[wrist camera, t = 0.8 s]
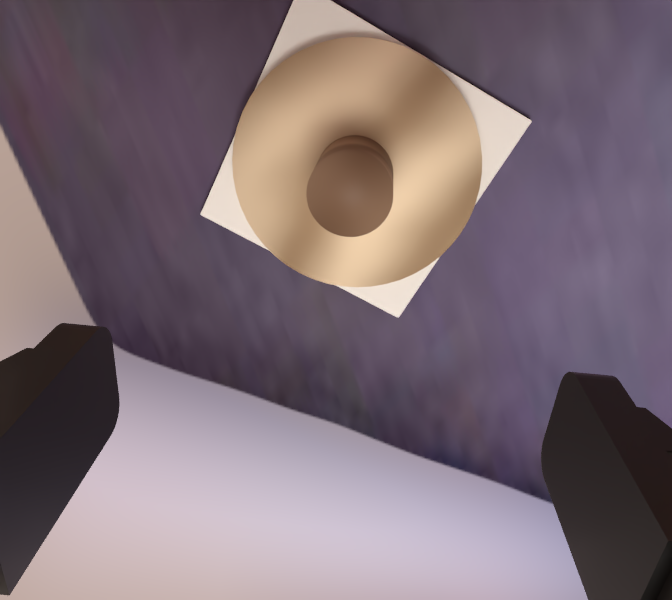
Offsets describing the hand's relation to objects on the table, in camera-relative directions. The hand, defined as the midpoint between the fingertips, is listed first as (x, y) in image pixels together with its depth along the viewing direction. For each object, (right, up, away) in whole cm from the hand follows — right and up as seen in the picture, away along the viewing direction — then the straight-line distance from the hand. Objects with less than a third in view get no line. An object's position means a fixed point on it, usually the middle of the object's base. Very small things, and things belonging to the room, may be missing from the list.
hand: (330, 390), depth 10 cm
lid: (+1, +9, +20) cm, 22 cm away
